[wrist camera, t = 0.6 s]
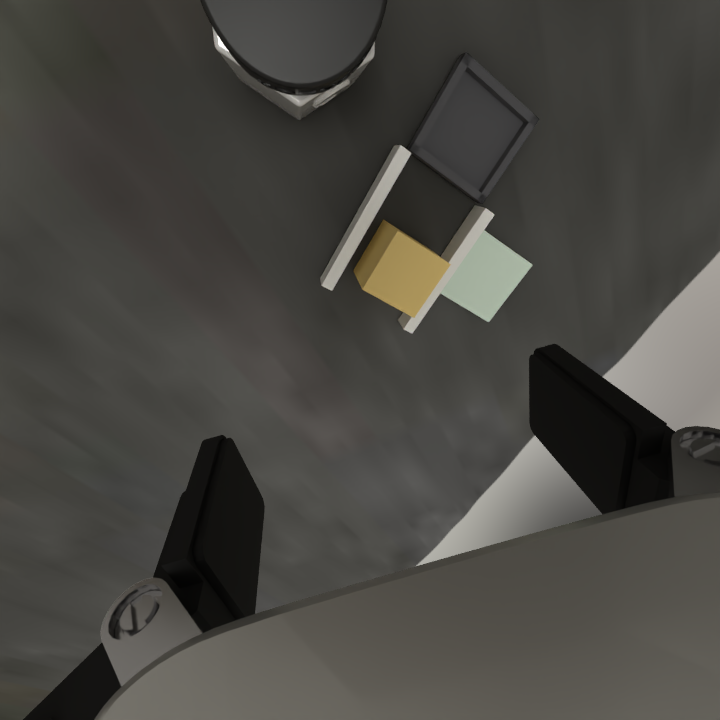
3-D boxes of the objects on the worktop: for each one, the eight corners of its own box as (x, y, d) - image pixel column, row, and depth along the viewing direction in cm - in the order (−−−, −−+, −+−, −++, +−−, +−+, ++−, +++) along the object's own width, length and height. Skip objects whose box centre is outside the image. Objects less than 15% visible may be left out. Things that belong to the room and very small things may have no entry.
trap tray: (460, 55, 28) (466, 51, 27) (531, 120, 30) (539, 119, 29) (406, 150, 30) (410, 149, 29) (476, 202, 33) (482, 203, 32)
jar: (275, 140, 28) (262, 132, 18) (201, 12, 25) (130, -93, 14) (380, 70, 27) (431, 19, 17) (320, -75, 23) (337, -258, 13)
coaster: (478, 227, 34) (481, 228, 33) (529, 263, 36) (532, 264, 35) (435, 289, 36) (437, 291, 35) (485, 320, 38) (488, 322, 38)
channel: (394, 145, 30) (400, 145, 28) (483, 211, 33) (494, 214, 31) (320, 278, 34) (321, 285, 32) (406, 324, 37) (412, 333, 35)
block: (383, 219, 32) (397, 230, 28) (429, 249, 34) (450, 264, 29) (353, 270, 34) (362, 289, 29) (398, 296, 36) (414, 318, 31)
